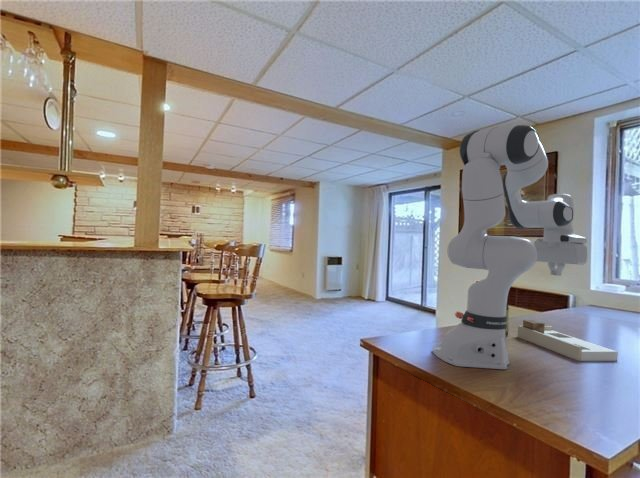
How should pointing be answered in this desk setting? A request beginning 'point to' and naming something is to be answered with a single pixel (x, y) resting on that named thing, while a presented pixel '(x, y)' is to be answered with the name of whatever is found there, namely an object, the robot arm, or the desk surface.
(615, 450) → the desk surface
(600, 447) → the desk surface
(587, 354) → the board
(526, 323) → the walnut block
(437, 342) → the desk surface
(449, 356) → the robot arm
